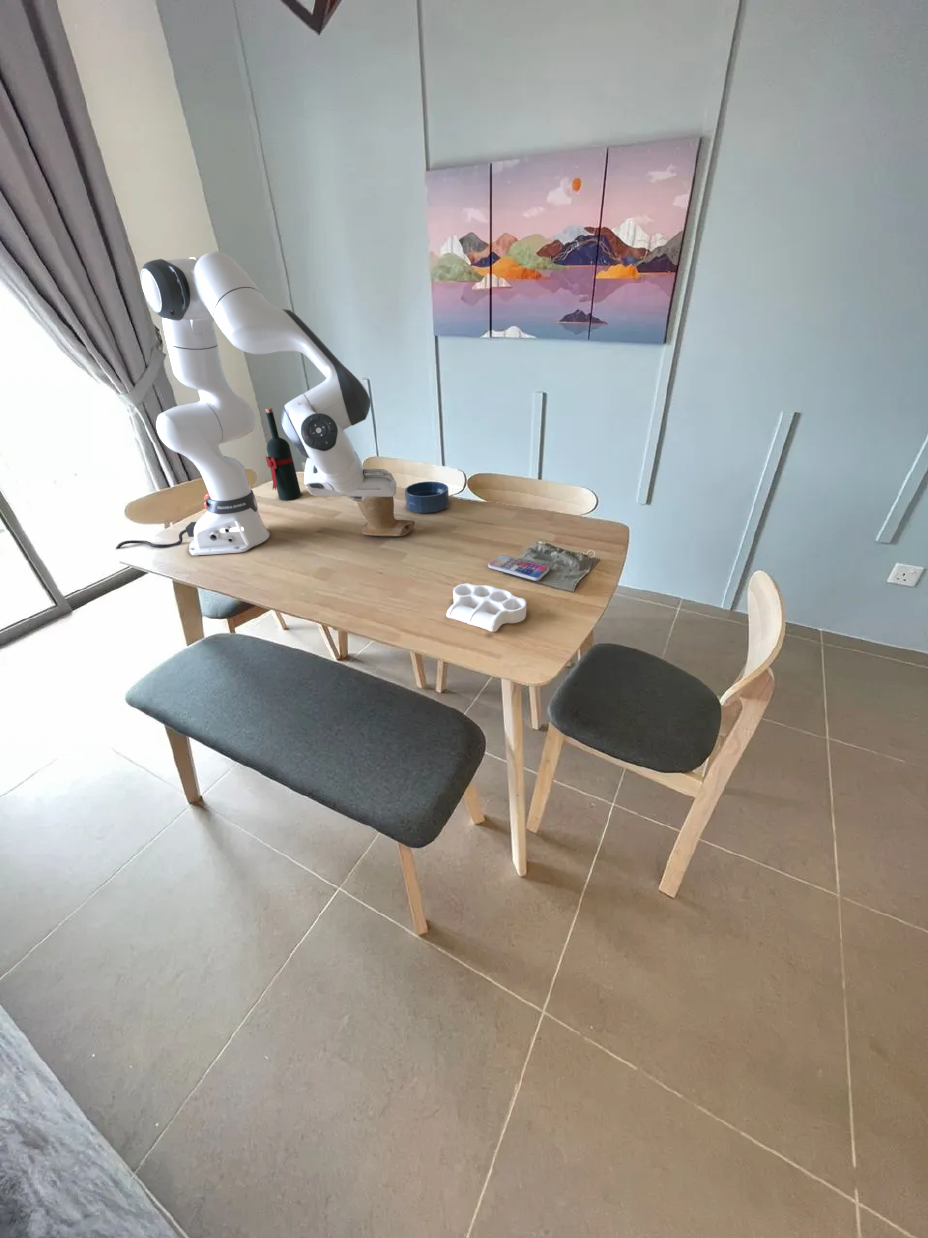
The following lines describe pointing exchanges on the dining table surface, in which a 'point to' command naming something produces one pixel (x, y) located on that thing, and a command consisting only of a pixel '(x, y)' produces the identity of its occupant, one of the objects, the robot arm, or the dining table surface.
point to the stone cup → (383, 518)
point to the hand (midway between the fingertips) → (359, 498)
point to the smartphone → (518, 567)
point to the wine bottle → (281, 463)
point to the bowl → (427, 497)
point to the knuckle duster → (486, 606)
